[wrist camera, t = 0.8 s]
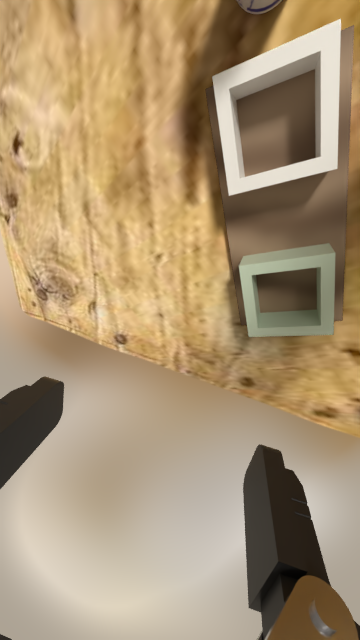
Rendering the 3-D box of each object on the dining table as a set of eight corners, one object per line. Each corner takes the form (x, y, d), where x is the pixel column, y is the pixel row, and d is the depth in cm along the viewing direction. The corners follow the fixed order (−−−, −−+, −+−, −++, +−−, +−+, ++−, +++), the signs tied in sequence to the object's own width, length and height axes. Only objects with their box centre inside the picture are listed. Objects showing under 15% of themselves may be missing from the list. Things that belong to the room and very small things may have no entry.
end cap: (243, 256, 31) (238, 266, 27) (329, 243, 27) (335, 252, 24) (251, 321, 34) (248, 336, 31) (328, 317, 31) (333, 334, 28)
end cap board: (208, 91, 25) (205, 89, 24) (351, 30, 20) (354, 24, 20) (242, 321, 36) (241, 324, 35) (340, 316, 31) (342, 320, 31)
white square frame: (221, 89, 24) (212, 76, 21) (331, 42, 20) (340, 18, 17) (235, 192, 28) (228, 195, 25) (330, 169, 24) (337, 168, 21)
